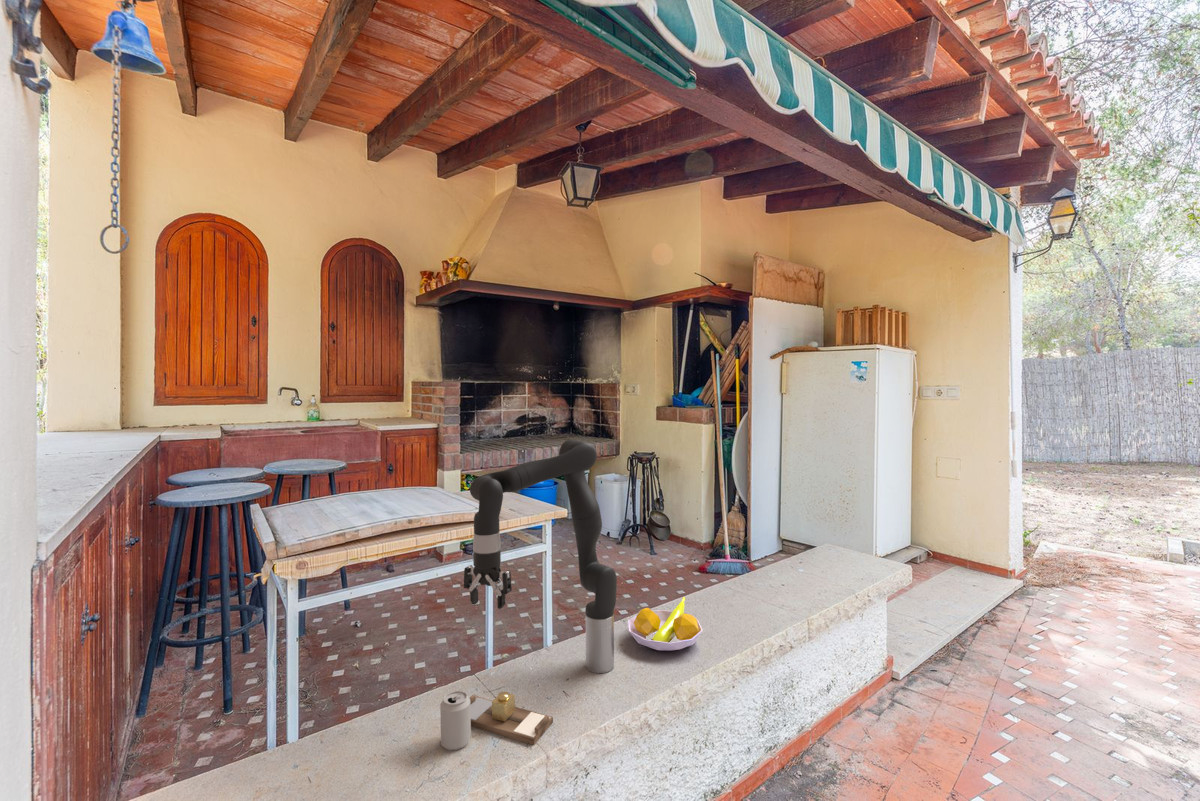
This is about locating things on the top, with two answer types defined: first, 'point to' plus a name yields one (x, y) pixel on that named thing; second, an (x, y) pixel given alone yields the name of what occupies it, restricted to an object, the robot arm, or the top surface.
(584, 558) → the robot arm
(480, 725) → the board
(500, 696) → the brass knob
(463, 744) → the can
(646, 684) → the top surface
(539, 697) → the top surface
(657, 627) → the fruit bowl
